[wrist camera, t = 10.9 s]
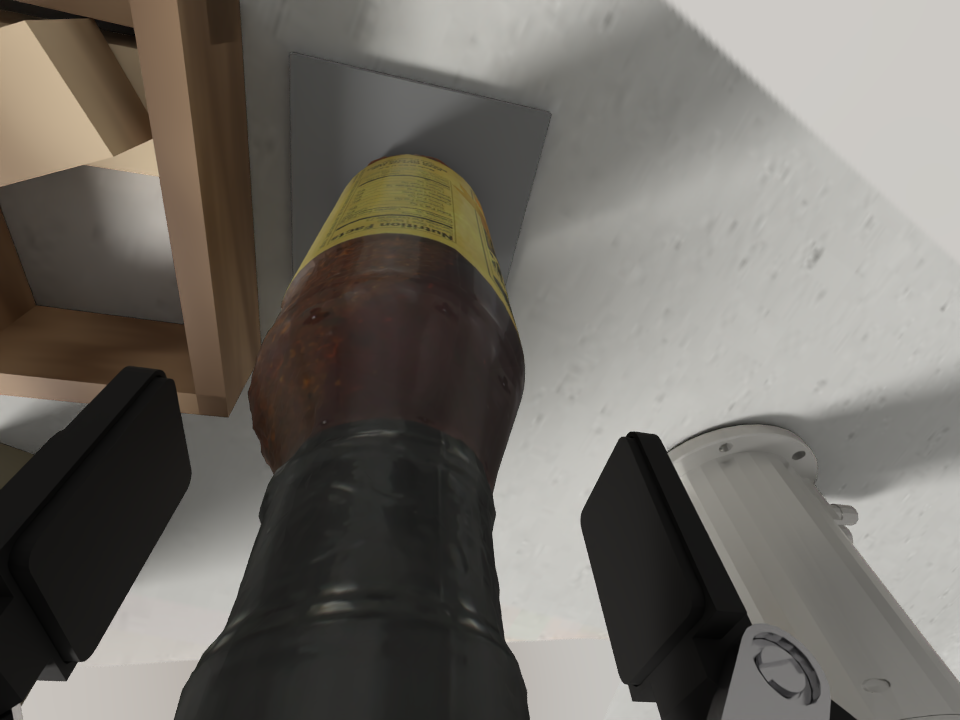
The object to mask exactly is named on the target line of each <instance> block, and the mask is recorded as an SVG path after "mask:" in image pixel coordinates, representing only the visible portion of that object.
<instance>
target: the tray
mask: <svg viewBox="0 0 960 720" xmlns="http://www.w3.org/2000/svg"><path fill="white" fill-rule="evenodd" d="M15 1H19V2H24V3H28V4H32V5H37V6H41V7H45V8H50V9H54V10H58V11H63V12H67V13H72V14H76V15H80V16H85V17H89V18H93V19H98V20H102V21H107V22H111V23H115V24H120V25H124V26H128V27H133V28H134V31H135V37H136V43H137V49H138V55H139V61H140V67H141V73H142V78H143V84H144V90H145V96H146V102H147V108H148V114H149V120H150V126H151V132H152V137H153V143H154V149H155V155H156V161H157V167H158V173H159V179H160V185H161V190H162V196H163V202H164V208H165V214H166V220H167V226H168V232H169V238H170V244H171V249H172V255H173V261H174V267H175V273H176V279H177V285H178V291H179V297H180V303H181V308H182V314H183V320H184V325H183V324H175V323H168V322H160V321H152V320H145V319H137V318H130V317H122V316H114V315H107V314H99V313H91V312H84V311H76V310H68V309H61V308H53V307H45V306H38V305H36V303H35V300H34V298H33V295H32V292H31V290H30V287H29V284H28V281H27V279H26V276H25V273H24V271H23V268H22V265H21V262H20V260H19V257H18V254H17V252H16V249H15V246H14V243H13V241H12V238H11V235H10V233H9V230H8V227H7V225H6V222H5V219H4V216H3V214H2V211H1V208H0V395H8V396H18V397H28V398H38V399H48V400H58V401H68V402H78V403H88V404H89V403H90V402H91V401H92V400H93V399H94V398H95V397H96V396H97V395H98V394H99V393H100V392H101V391H102V390H103V389H104V388H105V387H106V385H107V384H108V383H109V382H110V381H111V380H112V379H113V378H114V377H115V376H116V375H117V374H118V373H119V372H120V371H121V370H122V369H123V368H125V367H127V366H136V367H144V368H152V369H159V370H163V371H164V372H165V374H166V377H167V378H170V379H173V380H174V382H175V385H176V390H177V396H178V401H179V406H180V412H181V413H188V414H198V415H208V416H218V417H229V415H230V413H231V411H232V409H233V408H234V406H235V404H236V402H237V400H238V398H239V396H240V394H241V392H242V390H243V388H244V386H245V384H246V382H247V380H248V378H249V376H250V375H251V373H252V371H253V369H254V367H255V365H256V357H257V355H258V352H259V350H260V348H261V337H260V321H259V305H258V289H257V273H256V257H255V241H254V225H253V209H252V193H251V177H250V161H249V145H248V130H247V114H246V98H245V82H244V66H243V50H242V34H241V18H240V2H239V0H15Z"/></svg>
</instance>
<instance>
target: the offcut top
mask: <svg viewBox="0 0 960 720" xmlns="http://www.w3.org/2000/svg"><path fill="white" fill-rule="evenodd" d="M151 139H153V137H152V132H151V126H150V120H149V114H148V112H147V111H146V109H145V107H144V105H143V104H142V102H141V100H140V98H139V97H138V95H137V93H136V92H135V90H134V88H133V86H132V85H131V83H130V81H129V79H128V78H127V76H126V74H125V72H124V71H123V69H122V67H121V66H120V64H119V62H118V60H117V59H116V57H115V55H114V53H113V52H112V50H111V48H110V47H109V45H108V43H107V41H106V40H105V38H104V36H103V34H102V33H101V31H100V29H99V27H98V26H97V24H96V22H95V21H94V19H93V18H84V19H54V20H25V21H21V22H18V23H14V24H11V25H8V26H4V27H1V28H0V187H2V186H5V185H9V184H13V183H17V182H20V181H24V180H28V179H32V178H36V177H39V176H43V175H47V174H51V173H54V172H58V171H62V170H66V169H70V168H73V167H77V166H81V165H85V164H88V163H92V162H96V161H100V160H103V159H107V158H111V157H114V156H116V155H119V154H121V153H123V152H125V151H127V150H129V149H132V148H134V147H136V146H138V145H140V144H143V143H145V142H147V141H149V140H151Z"/></svg>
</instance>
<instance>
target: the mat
mask: <svg viewBox="0 0 960 720" xmlns="http://www.w3.org/2000/svg"><path fill="white" fill-rule="evenodd" d="M289 63H290V130H291V197H292V263H293V278H294V276H295V274H296V272H297V271H298V269H299V267H300V265H301V264H302V262H303V260H304V258H305V257H306V255H307V253H308V251H309V250H310V248H311V246H312V244H313V243H314V241H315V239H316V237H317V236H318V234H319V232H320V230H321V229H322V227H323V225H324V223H325V222H326V220H327V218H328V217H329V215H330V213H331V212H332V210H333V208H334V207H335V205H336V203H337V201H338V200H339V198H340V196H341V194H342V192H343V191H344V189H345V187H346V186H347V185H348V184H349V182H350V181H351V180H352V178H353V177H355V176H356V175H357V174H358V173H359V172H360V171H361V170H363V169H364V168H366V167H367V166H368V164H369V163H370V162H371V161H374V160H377V159H379V158H382V157H384V156H385V157H389V156H395V155H402V154H410V155H414V154H418V155H424V156H429V157H433V158H437V159H439V160H440V161H442V162H443V163H445V164H446V165H447V166H448V167H450V168H451V169H452V170H453V171H455V172H456V173H457V174H458V175H460V176H461V177H462V178H463V179H464V180H465V181H466V182H467V183H468V184H469V185H470V187H471V188H472V190H473V191H474V193H475V195H476V196H477V198H478V200H479V202H480V204H481V207H482V210H483V213H484V216H485V219H486V223H487V226H488V229H489V233H490V237H491V240H492V244H493V248H494V251H495V254H496V258H497V260H498V263H499V266H500V271H501V274H502V277H503V281H504V284H505V285H506V281H507V277H508V274H509V270H510V266H511V263H512V259H513V255H514V251H515V248H516V244H517V240H518V237H519V233H520V229H521V226H522V222H523V218H524V214H525V211H526V207H527V203H528V200H529V196H530V192H531V188H532V185H533V181H534V177H535V174H536V170H537V166H538V163H539V159H540V155H541V151H542V148H543V144H544V140H545V137H546V133H547V129H548V125H549V122H550V118H551V114H550V113H549V112H547V111H543V110H539V109H534V108H530V107H526V106H522V105H517V104H513V103H509V102H504V101H500V100H496V99H492V98H487V97H483V96H479V95H474V94H470V93H466V92H461V91H457V90H453V89H449V88H444V87H440V86H436V85H431V84H427V83H423V82H419V81H414V80H410V79H406V78H401V77H397V76H393V75H389V74H384V73H380V72H376V71H371V70H367V69H363V68H359V67H354V66H350V65H346V64H341V63H337V62H333V61H329V60H324V59H320V58H316V57H311V56H307V55H303V54H299V53H294V52H293V53H289Z"/></svg>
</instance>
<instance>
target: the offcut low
mask: <svg viewBox="0 0 960 720" xmlns="http://www.w3.org/2000/svg"><path fill="white" fill-rule="evenodd" d="M25 20H51V19H46V18H41V17H36V16H31V15H26V14H21V13H16V12H11V11H6V10H1V9H0V28H1V27H4V26H8V25H11V24H14V23H18V22H21V21H25ZM100 31H101V33H102V34H103V36H104V38H105V40H106V41H107V43H108V45H109V47H110V48H111V50H112V52H113V53H114V55H115V57H116V59H117V60H118V62H119V64H120V66H121V67H122V69H123V71H124V72H125V74H126V76H127V78H128V79H129V81H130V83H131V85H132V86H133V88H134V90H135V92H136V93H137V95H138V97H139V98H140V100H141V102H142V104H143V105H144V107H145V109H146V111H147V112H148V108H147V102H146V96H145V90H144V84H143V78H142V73H141V67H140V61H139V55H138V49H137V43H136V37H135V36H131V35H126V34H121V33H116V32H111V31H106V30H101V29H100ZM85 165H88V166H94V167H101V168H107V169H114V170H120V171H126V172H133V173H139V174H145V175H152V176H158V177H159V173H158V167H157V161H156V155H155V149H154V143H153V139H151V140H149V141H147V142H145V143H143V144H140V145H138V146H136V147H134V148H132V149H129V150H127V151H125V152H123V153H121V154H119V155H116V156H114V157H111V158H107V159H103V160H100V161H96V162H92V163H88V164H85Z"/></svg>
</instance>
